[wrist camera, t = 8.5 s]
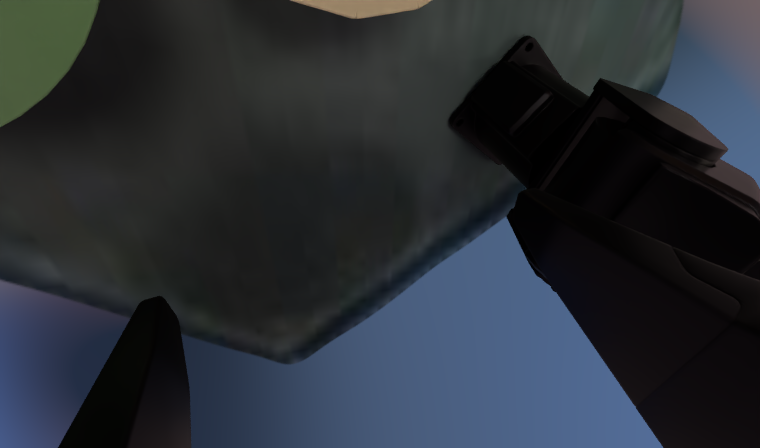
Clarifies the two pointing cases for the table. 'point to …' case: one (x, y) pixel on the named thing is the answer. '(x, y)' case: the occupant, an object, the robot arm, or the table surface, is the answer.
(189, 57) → the table surface
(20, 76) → the lid
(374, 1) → the tin
